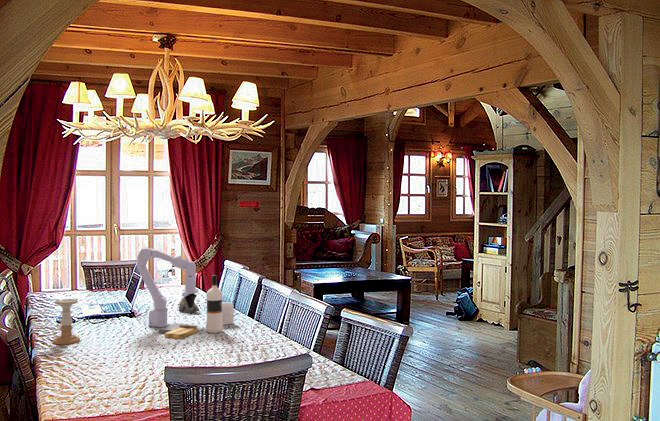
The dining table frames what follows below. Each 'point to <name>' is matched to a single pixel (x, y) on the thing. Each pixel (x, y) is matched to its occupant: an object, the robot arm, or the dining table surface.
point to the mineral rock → (184, 307)
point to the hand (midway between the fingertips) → (190, 307)
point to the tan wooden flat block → (181, 331)
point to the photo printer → (227, 313)
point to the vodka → (214, 308)
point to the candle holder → (66, 323)
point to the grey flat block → (170, 327)
